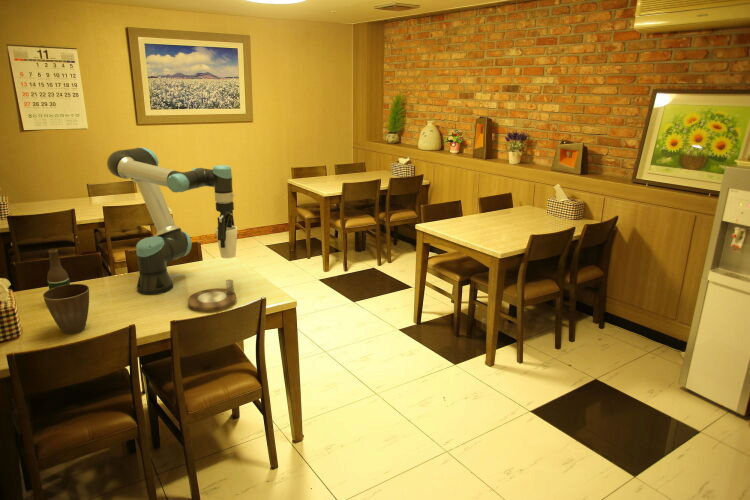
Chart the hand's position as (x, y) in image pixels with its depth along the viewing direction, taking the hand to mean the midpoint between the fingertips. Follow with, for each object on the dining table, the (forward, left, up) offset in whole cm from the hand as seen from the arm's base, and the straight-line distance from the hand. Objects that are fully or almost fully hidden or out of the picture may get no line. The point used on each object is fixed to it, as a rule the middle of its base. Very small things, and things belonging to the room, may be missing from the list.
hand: (227, 250), depth 229 cm
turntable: (-3, -15, -18) cm, 23 cm away
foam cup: (0, 0, -3) cm, 3 cm away
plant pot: (-46, -45, -20) cm, 67 cm away
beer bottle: (-66, -22, -20) cm, 72 cm away
